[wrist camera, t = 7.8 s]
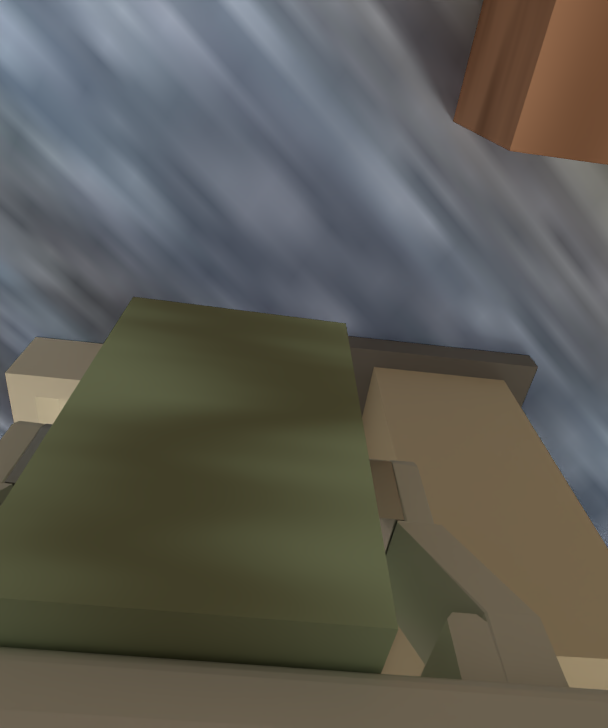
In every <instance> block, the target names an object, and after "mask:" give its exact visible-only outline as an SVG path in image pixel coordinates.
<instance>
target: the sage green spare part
mask: <svg viewBox="0 0 608 728" xmlns="http://www.w3.org/2000/svg"><path fill="white" fill-rule="evenodd" d="M397 631H398V624H397V618H396V612H395V607H394V601H393V595H392V589H391V583H390V577H389V572H388V566H387V560H386V554H385V548H384V543H383V537H382V531H381V525H380V519H379V514H378V508H377V502H376V496H375V490H374V485H373V479H372V473H371V467H370V461H369V455H368V450H367V444H366V438H365V432H364V426H363V421H362V415H361V409H360V403H359V397H358V392H357V386H356V380H355V374H354V368H353V362H352V357H351V351H350V345H349V339H348V333H347V328H346V323H338V322H330V321H322V320H314V319H306V318H298V317H290V316H282V315H274V314H266V313H258V312H250V311H242V310H234V309H226V308H218V307H211V306H203V305H195V304H187V303H179V302H171V301H163V300H155V299H147V298H139V297H133V298H132V300H131V301H130V303H129V304H128V306H127V307H126V309H125V311H124V312H123V314H122V315H121V317H120V319H119V320H118V322H117V323H116V325H115V326H114V328H113V330H112V331H111V333H110V334H109V336H108V338H107V339H106V341H105V342H104V344H103V345H102V347H101V349H100V350H99V352H98V353H97V355H96V356H95V358H94V360H93V361H92V363H91V364H90V366H89V368H88V369H87V371H86V372H85V374H84V375H83V377H82V379H81V380H80V382H79V383H78V385H77V387H76V388H75V390H74V391H73V393H72V394H71V396H70V398H69V399H68V401H67V402H66V404H65V405H64V407H63V409H62V410H61V412H60V413H59V415H58V417H57V418H56V420H55V421H54V423H53V424H52V426H51V428H50V429H49V431H48V432H47V434H46V436H45V437H44V439H43V440H42V442H41V443H40V445H39V447H38V448H37V450H36V451H35V453H34V454H33V456H32V458H31V459H30V461H29V462H28V464H27V466H26V467H25V469H24V470H23V472H22V473H21V475H20V477H19V478H18V480H17V481H16V483H15V485H14V486H13V488H12V489H11V491H10V492H9V494H8V496H7V497H6V499H5V500H4V502H3V503H2V505H1V507H0V647H12V648H26V649H40V650H54V651H68V652H82V653H95V654H109V655H123V656H137V657H151V658H165V659H179V660H193V661H207V662H221V663H235V664H249V665H263V666H277V667H292V668H306V669H320V670H334V671H349V672H363V673H377V674H381V672H382V669H383V667H384V664H385V662H386V659H387V657H388V654H389V652H390V649H391V647H392V644H393V641H394V639H395V636H396V634H397Z"/></svg>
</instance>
